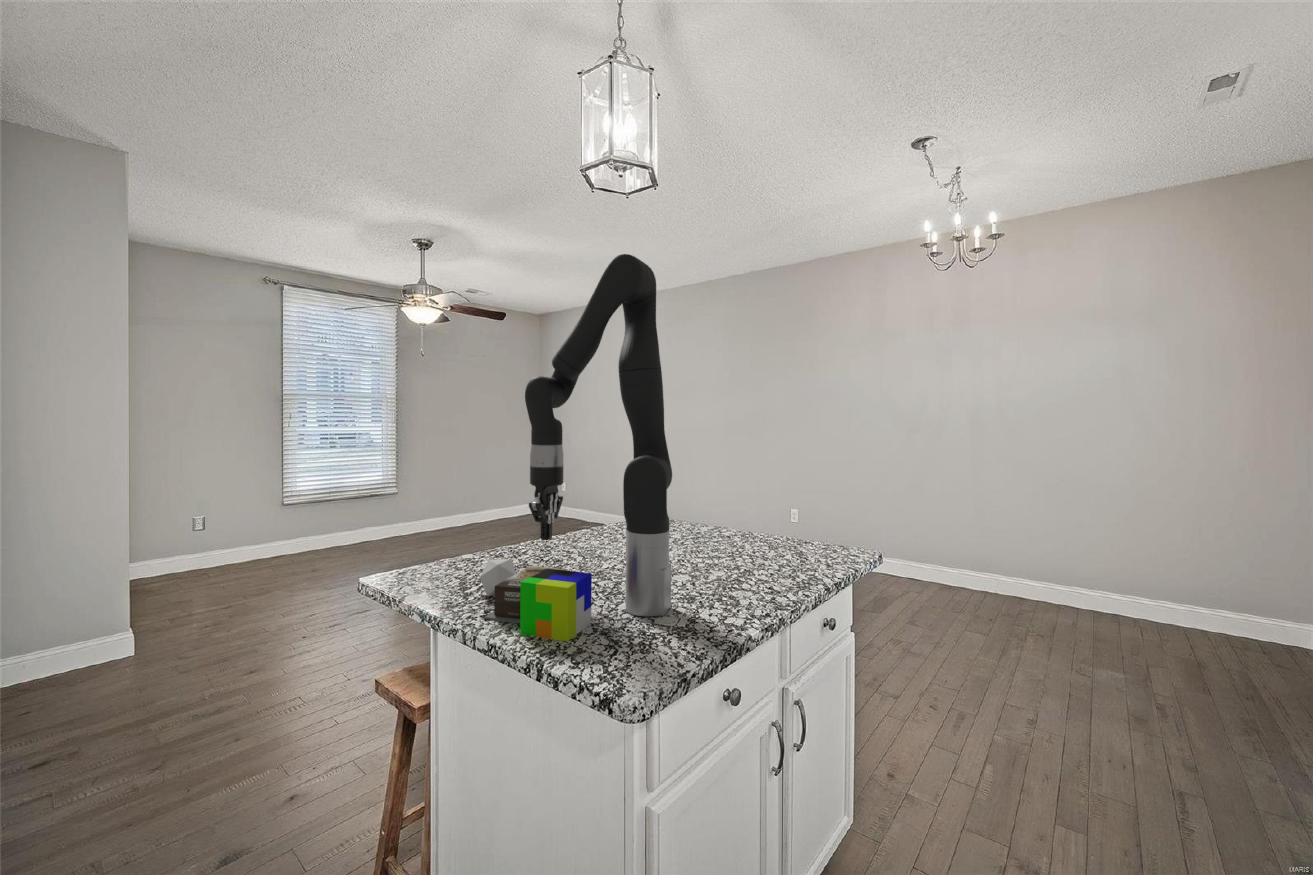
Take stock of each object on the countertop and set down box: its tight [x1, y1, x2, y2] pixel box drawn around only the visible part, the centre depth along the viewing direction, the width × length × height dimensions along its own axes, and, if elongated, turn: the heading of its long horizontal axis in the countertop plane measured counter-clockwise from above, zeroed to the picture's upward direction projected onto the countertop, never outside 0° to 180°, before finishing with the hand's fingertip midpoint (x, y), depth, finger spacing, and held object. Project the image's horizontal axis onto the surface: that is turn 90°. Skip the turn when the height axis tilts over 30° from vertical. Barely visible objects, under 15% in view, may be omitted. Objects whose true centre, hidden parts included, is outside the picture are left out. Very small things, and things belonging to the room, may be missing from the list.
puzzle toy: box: [519, 569, 593, 643], centre depth 105 cm, size 10×10×10 cm
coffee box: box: [493, 565, 566, 618], centre depth 116 cm, size 9×6×16 cm
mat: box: [484, 610, 520, 624], centre depth 116 cm, size 9×16×1 cm, turn 165°
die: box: [479, 558, 517, 597], centre depth 125 cm, size 8×9×10 cm
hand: (546, 539), depth 124 cm, fingers closed
